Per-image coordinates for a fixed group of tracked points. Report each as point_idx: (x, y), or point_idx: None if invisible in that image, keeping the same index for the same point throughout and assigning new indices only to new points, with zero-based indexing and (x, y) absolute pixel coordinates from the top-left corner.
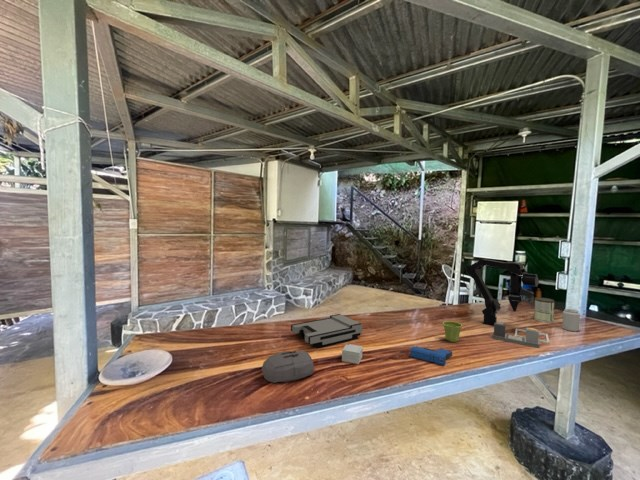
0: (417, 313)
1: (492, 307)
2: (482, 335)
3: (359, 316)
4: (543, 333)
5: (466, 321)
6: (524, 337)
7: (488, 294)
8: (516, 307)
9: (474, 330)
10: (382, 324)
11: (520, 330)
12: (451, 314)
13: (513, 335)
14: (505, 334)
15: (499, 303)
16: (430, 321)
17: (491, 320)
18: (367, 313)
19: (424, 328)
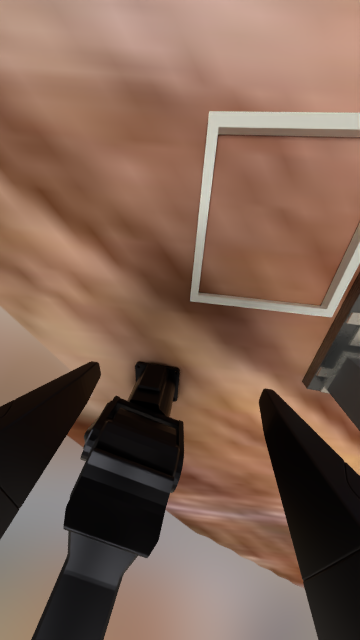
0: (182, 506)
1: (178, 476)
2: (342, 414)
3: (277, 566)
4: (212, 144)
5: None
6: (351, 274)
7: (89, 636)
8: (326, 448)
9: None
10: None
11: (199, 279)
12: None
13: (344, 325)
14: (346, 356)
15: (87, 465)
16: (243, 496)
17: (171, 392)
18: (246, 558)
19: None
